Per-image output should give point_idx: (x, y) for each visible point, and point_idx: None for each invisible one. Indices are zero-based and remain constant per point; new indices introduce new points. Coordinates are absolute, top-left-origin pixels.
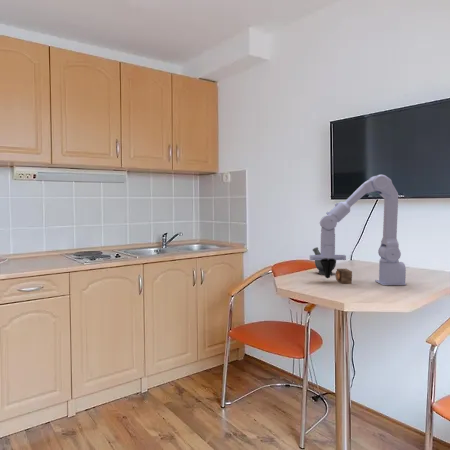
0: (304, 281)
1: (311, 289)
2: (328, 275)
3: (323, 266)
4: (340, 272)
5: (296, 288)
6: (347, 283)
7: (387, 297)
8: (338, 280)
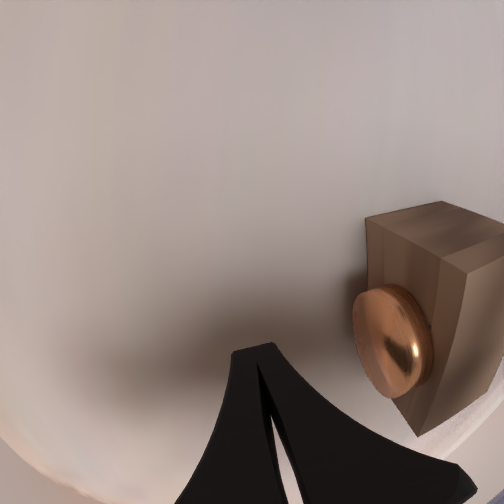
0: (35, 338)
1: (154, 490)
2: (271, 414)
3: (217, 482)
4: (419, 392)
5: (84, 478)
6: None
7: None
8: (373, 281)
